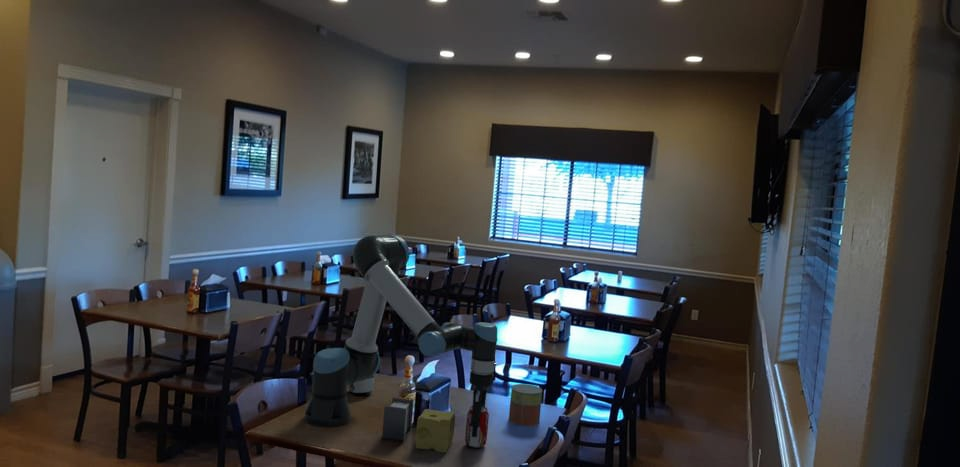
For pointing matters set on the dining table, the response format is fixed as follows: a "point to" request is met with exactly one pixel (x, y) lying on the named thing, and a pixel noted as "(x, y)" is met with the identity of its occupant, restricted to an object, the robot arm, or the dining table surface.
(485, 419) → the soda can
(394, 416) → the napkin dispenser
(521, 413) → the canned food
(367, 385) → the spread jar
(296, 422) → the dining table surface
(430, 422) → the cheese
